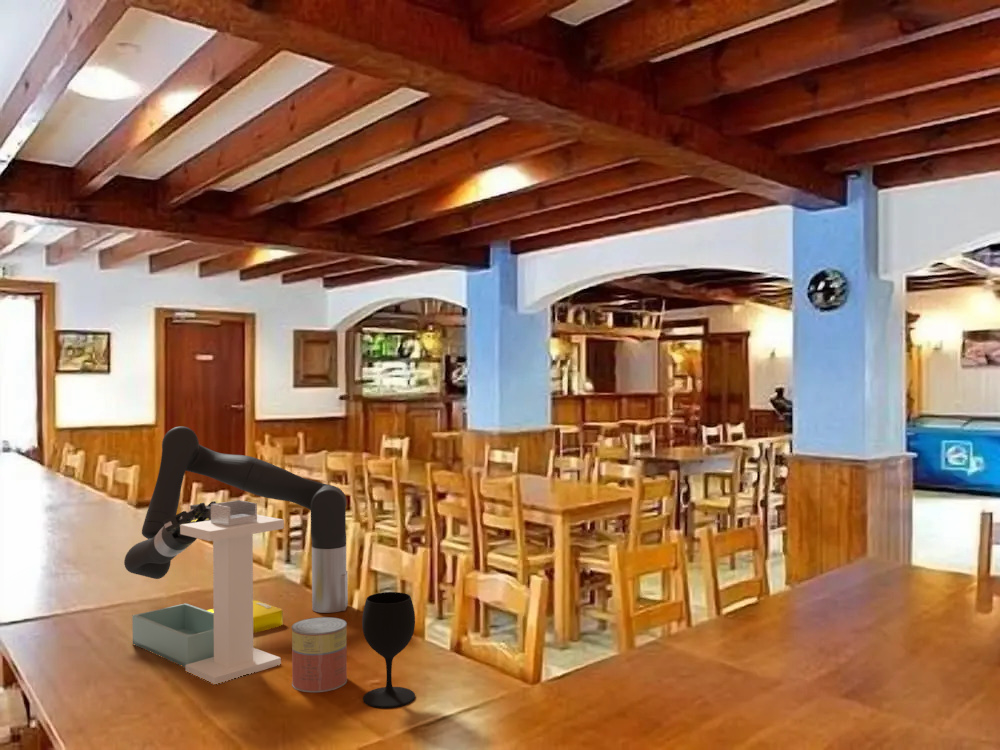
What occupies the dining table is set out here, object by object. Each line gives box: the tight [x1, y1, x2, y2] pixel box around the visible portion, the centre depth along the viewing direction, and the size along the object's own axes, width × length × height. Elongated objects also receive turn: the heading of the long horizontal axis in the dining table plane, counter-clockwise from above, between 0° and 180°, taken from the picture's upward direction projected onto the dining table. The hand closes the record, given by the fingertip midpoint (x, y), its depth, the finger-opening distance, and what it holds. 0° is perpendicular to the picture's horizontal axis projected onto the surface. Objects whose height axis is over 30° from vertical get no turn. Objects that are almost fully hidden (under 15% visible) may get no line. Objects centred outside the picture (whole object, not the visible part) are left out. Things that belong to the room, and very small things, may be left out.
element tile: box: [207, 599, 284, 634], centre depth 217 cm, size 15×15×5 cm
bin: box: [131, 603, 214, 668], centre depth 198 cm, size 26×14×7 cm, turn 49°
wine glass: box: [361, 591, 416, 709], centre depth 168 cm, size 10×10×20 cm
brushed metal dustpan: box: [189, 500, 258, 527], centre depth 189 cm, size 20×7×4 cm, turn 49°
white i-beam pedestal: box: [180, 514, 285, 685], centre depth 185 cm, size 12×18×32 cm, turn 139°
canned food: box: [291, 616, 348, 693], centre depth 177 cm, size 11×11×12 cm
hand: (209, 506), depth 191 cm, fingers closed on brushed metal dustpan, 2 cm apart
